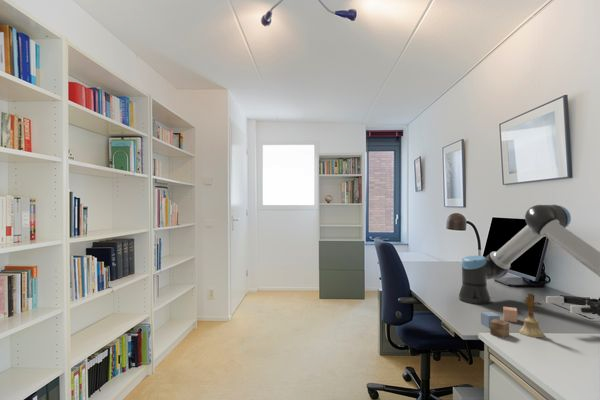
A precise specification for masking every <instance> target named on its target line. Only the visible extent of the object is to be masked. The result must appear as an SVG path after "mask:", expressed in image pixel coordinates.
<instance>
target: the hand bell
mask: <svg viewBox="0 0 600 400" xmlns="http://www.w3.org/2000/svg"><path fill="white" fill-rule="evenodd" d="M527 293H528V296H527V304H526V306H527V308H528V317H526V318H525V319H524V321H523V325H522V327H521V328H520V329H519V331H518V332H519V333H520V334H521V335H523V336H525V335H526V336H527V337H529V336H530V337H529V338H534V337H542V338H544V337H545V333H543V331H542V330H541V328H540V325H539V321H538V320H537V319H535V317H534V307H535V304H534V300H535V297H534V298H533V295H534V294H533V293H532V292H527ZM532 294H533V295H532Z"/></svg>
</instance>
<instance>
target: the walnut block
mask: <svg viewBox="0 0 600 400" xmlns="http://www.w3.org/2000/svg"><path fill="white" fill-rule="evenodd" d="M489 329H490V331H489V332H490V335H492V336H495V337H500V338H503V337H504V338H503V339H505V338H506V336H507V337H508V336H510V321H504V320H502V319H500V320H498V319H494V320H492V321H490V328H489Z"/></svg>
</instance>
